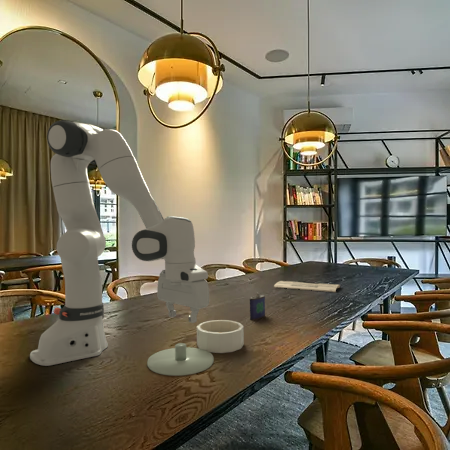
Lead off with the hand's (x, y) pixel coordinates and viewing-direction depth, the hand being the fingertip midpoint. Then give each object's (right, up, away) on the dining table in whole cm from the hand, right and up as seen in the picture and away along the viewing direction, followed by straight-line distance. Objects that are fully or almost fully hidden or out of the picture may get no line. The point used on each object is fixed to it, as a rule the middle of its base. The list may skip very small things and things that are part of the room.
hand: (182, 319), depth 103 cm
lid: (0, -13, 0) cm, 13 cm away
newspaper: (+63, -12, +115) cm, 132 cm away
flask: (+26, -12, +47) cm, 55 cm away
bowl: (+11, -12, +14) cm, 22 cm away
